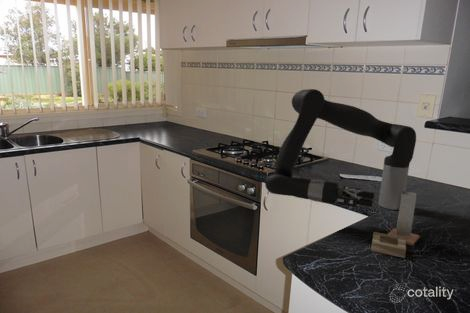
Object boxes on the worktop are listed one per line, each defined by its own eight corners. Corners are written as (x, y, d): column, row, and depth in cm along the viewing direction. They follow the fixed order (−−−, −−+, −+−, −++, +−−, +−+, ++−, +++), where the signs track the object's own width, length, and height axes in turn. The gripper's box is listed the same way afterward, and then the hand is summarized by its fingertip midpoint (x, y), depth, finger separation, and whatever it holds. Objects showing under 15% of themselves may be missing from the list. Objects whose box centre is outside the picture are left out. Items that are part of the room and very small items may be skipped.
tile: (393, 230, 120) (393, 228, 119) (419, 237, 114) (419, 235, 114) (385, 237, 113) (386, 235, 113) (412, 245, 108) (413, 243, 108)
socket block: (372, 239, 112) (373, 231, 111) (404, 245, 108) (405, 238, 108) (370, 250, 104) (371, 242, 103) (404, 258, 100) (406, 249, 100)
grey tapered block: (396, 231, 116) (402, 190, 114) (409, 234, 115) (415, 193, 112) (396, 236, 113) (402, 194, 110) (409, 239, 111) (416, 196, 108)
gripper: (320, 186, 115) (373, 194, 109) (327, 176, 128) (375, 183, 121) (318, 208, 116) (370, 217, 110) (325, 196, 129) (373, 204, 123)
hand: (373, 199), depth 116 cm, fingers open, 8 cm apart
